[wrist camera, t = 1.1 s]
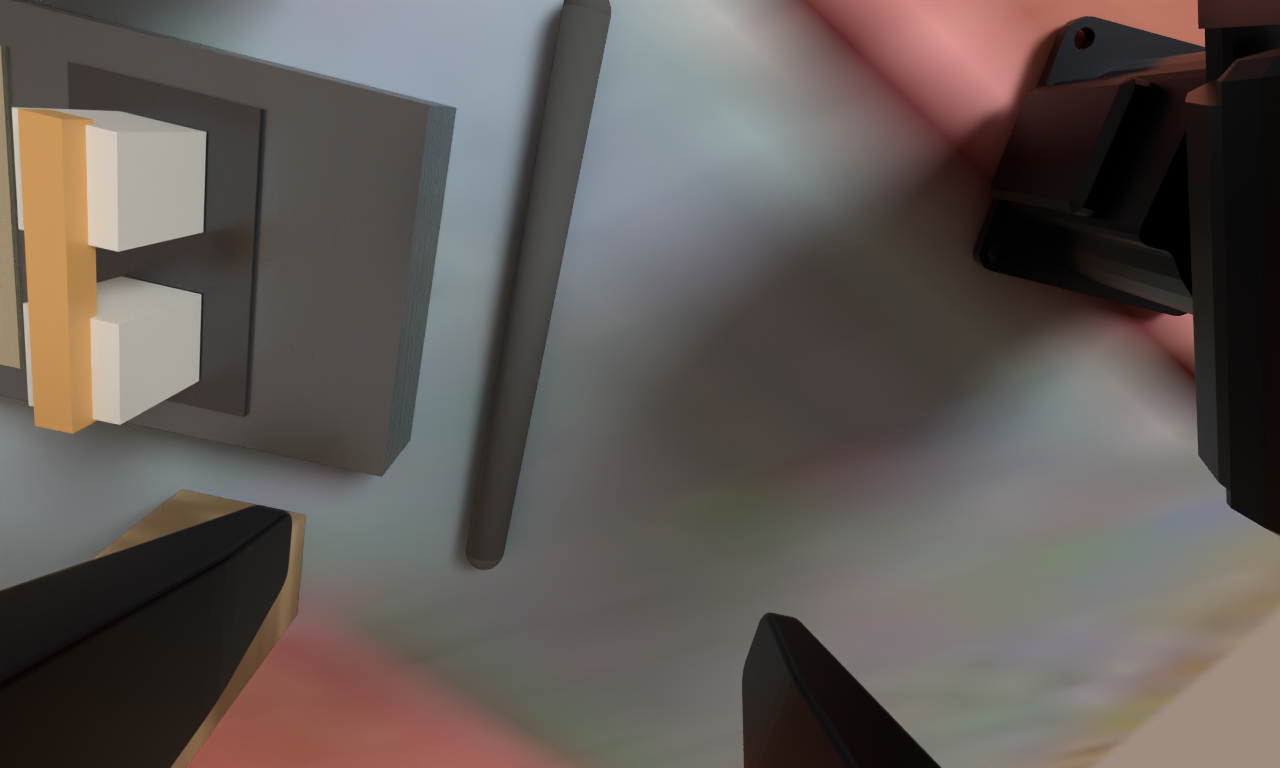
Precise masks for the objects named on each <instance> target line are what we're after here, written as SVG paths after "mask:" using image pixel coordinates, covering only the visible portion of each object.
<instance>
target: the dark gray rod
mask: <svg viewBox="0 0 1280 768" xmlns="http://www.w3.org/2000/svg"><path fill="white" fill-rule="evenodd" d="M610 18H611V6H610V2H609V0H564V4H563V9H562V14H561V20H560V26H559V31H558V37H557V42H556V48H555V54H554V59H553V65H552V70H551V76H550V82H549V87H548V93H547V98H546V104H545V110H544V115H543V121H542V126H541V132H540V138H539V143H538V149H537V154H536V160H535V166H534V171H533V177H532V182H531V188H530V194H529V199H528V205H527V210H526V216H525V222H524V227H523V233H522V238H521V244H520V250H519V255H518V261H517V267H516V272H515V278H514V283H513V289H512V295H511V300H510V306H509V311H508V317H507V323H506V328H505V334H504V339H503V345H502V351H501V356H500V362H499V367H498V373H497V379H496V384H495V390H494V395H493V401H492V407H491V412H490V418H489V423H488V429H487V435H486V440H485V446H484V451H483V457H482V463H481V468H480V474H479V479H478V485H477V491H476V496H475V502H474V508H473V513H472V519H471V524H470V530H469V536H468V541H467V547H466V556H467V559H468V561H469V562H470V564H471V565H472V566H474V567H475V568H477V569H481V570H487V569H491V568H493V567H495V566H496V565H497V564H498V563H499V562H500V561H501V559H502V557H503V554H504V549H505V544H506V539H507V534H508V529H509V524H510V519H511V514H512V509H513V504H514V499H515V494H516V489H517V484H518V479H519V474H520V469H521V464H522V459H523V454H524V449H525V444H526V439H527V434H528V429H529V424H530V419H531V414H532V409H533V404H534V399H535V394H536V389H537V384H538V379H539V374H540V369H541V364H542V359H543V354H544V349H545V344H546V339H547V333H548V328H549V323H550V318H551V313H552V308H553V303H554V298H555V293H556V288H557V283H558V278H559V273H560V268H561V263H562V258H563V253H564V248H565V243H566V238H567V233H568V228H569V223H570V218H571V213H572V208H573V203H574V198H575V193H576V188H577V183H578V178H579V173H580V168H581V163H582V158H583V153H584V148H585V143H586V138H587V133H588V128H589V123H590V118H591V113H592V108H593V103H594V98H595V93H596V88H597V83H598V78H599V73H600V68H601V63H602V58H603V53H604V48H605V43H606V38H607V33H608V28H609V23H610Z"/></svg>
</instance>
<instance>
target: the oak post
mask: <svg viewBox="0 0 1280 768" xmlns="http://www.w3.org/2000/svg"><path fill="white" fill-rule="evenodd" d="M250 506H254V504H249V503H244V502H239V501H235V500H230V499H225V498H220V497H215V496H210V495H206V494H201V493H196V492H191V491H186V490H181V491H179V492H178V493H177V494H176V495H174V496H173V497H172V498H170V499H169V500H168V501H166V502H165V503H164V504H163V505H161V506H160V507H159V508H157V509H156V510H155V511H153V512H152V513H151V514H150V515H148V516H147V517H146V518H144V519H143V520H142V521H140V522H139V523H138V524H137V525H135V526H134V527H133V528H131V529H130V530H129V531H127V532H126V533H125V534H124V535H122V536H121V537H120V538H118V539H117V540H116V541H114V542H113V543H112V544H111V545H109V546H108V547H107V548H105V549H104V550H103V551H102V552H100V553H99V554H98V555H96V556H95V557H94V558H92V559H91V560H93V559H96V558H99V557H102V556H105V555H108V554H111V553H114V552H117V551H120V550H123V549H126V548H128V547H131V546H134V545H137V544H140V543H143V542H146V541H149V540H152V539H155V538H158V537H161V536H164V535H167V534H170V533H173V532H176V531H179V530H182V529H185V528H188V527H191V526H194V525H197V524H200V523H203V522H206V521H209V520H212V519H215V518H218V517H220V516H223V515H226V514H229V513H232V512H235V511H238V510H241V509H244V508H247V507H250ZM289 514H290V515H291V517H292V535H291V547H290V558H289V569H288V574H287V578H286V581H285V583H284V586H283V588H282V590H281V592H280V594H279V595H278V597H277V599H276V601H275V602H274V604H273V606H272V608H271V609H270V611H269V613H268V615H267V617H266V618H265V620H264V622H263V624H262V625H261V627H260V629H259V631H258V632H257V634H256V636H255V638H254V640H253V641H252V643H251V645H250V647H249V648H248V650H247V652H246V654H245V655H244V657H243V659H242V661H241V663H240V664H239V666H238V668H237V670H236V671H235V673H234V675H233V677H232V678H231V680H230V682H229V684H228V685H227V687H226V689H225V690H224V692H223V694H222V695H221V697H220V699H219V700H218V702H217V703H216V705H215V706H214V708H213V709H212V711H211V712H210V714H209V715H208V717H207V718H206V719H205V721H204V722H203V724H202V725H201V726H200V728H199V729H198V731H197V732H196V733H195V735H194V736H193V738H192V739H191V740H190V742H189V743H188V745H187V746H186V747H185V749H184V750H183V752H182V753H181V754H180V756H179V757H178V759H177V760H176V761H175V763H174V764H173V766H172V767H171V768H186V767H187V765H188V764H189V762H190V761H191V760H192V758H193V757H194V756H195V754H196V753H197V751H198V750H199V749H200V747H201V746H202V745H203V743H204V742H205V740H206V739H207V738H208V736H209V735H210V734H211V732H212V731H213V729H214V728H215V727H216V725H217V724H218V723H219V721H220V720H221V718H222V717H223V716H224V714H225V713H226V711H227V710H228V709H229V707H230V706H231V705H232V703H233V702H234V700H235V699H236V698H237V696H238V695H239V694H240V692H241V691H242V689H243V688H244V687H245V685H246V684H247V683H248V681H249V680H250V678H251V677H252V676H253V674H254V673H255V672H256V670H257V669H258V667H259V666H260V665H261V663H262V662H263V661H264V659H265V658H266V656H267V655H268V654H269V652H270V651H271V649H272V648H273V647H274V645H275V644H276V643H277V641H278V640H279V638H280V637H281V636H282V634H283V633H284V632H285V630H286V629H287V627H288V626H289V625H290V623H291V622H292V621H293V619H294V618H295V616H296V615H297V610H298V599H299V588H300V576H301V565H302V554H303V543H304V531H305V520H306V515H302V514H297V513H293V512H289Z"/></svg>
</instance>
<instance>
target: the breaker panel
mask: <svg viewBox="0 0 1280 768" xmlns="http://www.w3.org/2000/svg"><path fill="white" fill-rule="evenodd" d="M12 107H20V108H47V109H75V110H102V111H121V112H125V113H129V114H134V115H138V116H142V117H146V118H150V119H154V120H158V121H163V122H167V123H171V124H175V125H179V126H183V127H188V128H192V129H196V130H200V131H204V132H206V156H205V190H204V224H203V232H202V233H198V234H194V235H189V236H185V237H181V238H176V239H172V240H167V241H163V242H159V243H154V244H150V245H146V246H141V247H137V248H133V249H128V250H124V251H119V252H117V251H113V250H108V249H104V248H99V247H96V283H98V282H102V281H106V280H109V279H113V278H116V277H120V276H122V277H127V278H131V279H136V280H140V281H144V282H149V283H153V284H158V285H162V286H167V287H171V288H175V289H180V290H184V291H189V292H193V293H198V294H201V327H200V361H199V381H198V382H196V383H194V384H193V385H191V386H189V387H187V388H185V389H184V390H182V391H180V392H178V393H176V394H175V395H173V396H171V397H169V398H167V399H166V400H164V401H162V402H160V403H158V404H157V405H155V406H153V407H151V408H149V409H148V410H146V411H144V412H142V413H141V414H139V415H137V416H135V417H133V418H132V419H130V420H128V421H126V422H127V423H131V424H136V425H141V426H146V427H150V428H155V429H160V430H164V431H169V432H174V433H179V434H183V435H188V436H193V437H197V438H202V439H207V440H212V441H216V442H221V443H226V444H230V445H235V446H240V447H245V448H249V449H254V450H259V451H263V452H268V453H273V454H278V455H282V456H287V457H292V458H296V459H301V460H306V461H311V462H315V463H320V464H325V465H329V466H334V467H339V468H344V469H348V470H353V471H358V472H362V473H367V474H372V475H377V476H381V477H382V476H383V475H384V473H385V472H386V471H387V469H388V468H389V467H390V466H391V464H392V463H393V462H394V460H395V459H396V458H397V456H398V455H399V454H400V453H401V451H402V450H403V449H404V447H405V446H406V445H407V443H408V442H409V441H410V437H411V429H412V422H413V415H414V408H415V401H416V393H417V386H418V379H419V372H420V365H421V358H422V350H423V343H424V336H425V329H426V322H427V315H428V307H429V300H430V293H431V286H432V279H433V271H434V264H435V257H436V250H437V243H438V236H439V228H440V221H441V214H442V207H443V200H444V193H445V185H446V178H447V171H448V164H449V157H450V149H451V142H452V135H453V128H454V121H455V114H456V108H454V107H450V106H446V105H442V104H438V103H434V102H430V101H426V100H422V99H418V98H414V97H410V96H406V95H402V94H398V93H394V92H390V91H386V90H382V89H378V88H374V87H370V86H366V85H362V84H358V83H354V82H350V81H346V80H342V79H338V78H334V77H330V76H326V75H322V74H318V73H314V72H310V71H306V70H302V69H298V68H293V67H289V66H285V65H281V64H277V63H273V62H269V61H265V60H261V59H257V58H253V57H249V56H245V55H241V54H237V53H233V52H229V51H225V50H221V49H217V48H213V47H209V46H205V45H201V44H197V43H193V42H189V41H185V40H181V39H177V38H173V37H169V36H165V35H161V34H157V33H153V32H149V31H145V30H141V29H137V28H133V27H129V26H125V25H121V24H116V23H112V22H108V21H104V20H100V19H96V18H92V17H88V16H84V15H80V14H76V13H72V12H68V11H64V10H60V9H56V8H52V7H48V6H44V5H40V4H36V3H32V2H28V1H24V0H0V396H4V397H9V398H14V399H18V400H23V401H28V385H27V367H26V350H25V332H24V315H23V303H26V302H28V292H27V273H26V255H25V237H24V230H20V229H19V227H18V209H17V191H16V174H15V156H14V139H13V121H12Z"/></svg>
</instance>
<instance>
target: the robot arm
mask: <svg viewBox="0 0 1280 768" xmlns="http://www.w3.org/2000/svg"><path fill="white" fill-rule="evenodd" d="M1198 27H1199V29H1204V28H1205V47H1202V46H1198V45H1195V44H1191V43H1187V42H1184V41H1180V40H1176V39H1173V38H1169V37H1165V36H1162V35H1158V34H1155V33H1151V32H1147V31H1144V30H1140V29H1136V28H1133V27H1129V26H1125V25H1122V24H1118V23H1114V22H1111V21H1107V20H1103V19H1100V18H1096V17H1088V16H1085V17H1081V18H1077V19H1074V20H1072V21H1069V22H1068V23H1066V24H1065V25H1064V26H1063V27H1062V28H1061V30H1060V31H1059V33H1058V35H1057V37H1056V40H1055V42H1054V45H1053V47H1052V50H1051V52H1050V55H1049V57H1048V60H1047V63H1046V65H1045V68H1044V70H1043V73H1042V75H1041V78H1040V80H1039V83H1038V85H1037V88H1036V89H1035V90H1033V91H1031V92H1030V93H1028V94H1027V95H1026V97H1025V99H1024V102H1023V104H1022V107H1021V110H1020V112H1019V115H1018V117H1017V120H1016V122H1015V125H1014V128H1013V130H1012V133H1011V135H1010V138H1009V140H1008V143H1007V146H1006V148H1005V151H1004V153H1003V156H1002V158H1001V161H1000V164H999V166H998V169H997V171H996V174H995V176H994V179H993V182H992V184H991V190H992V193H993V196H994V198H993V200H992V203H991V205H990V208H989V210H988V213H987V216H986V218H985V221H984V223H983V226H982V228H981V231H980V233H979V236H978V239H977V241H976V244H975V246H974V251H973V256H974V260H975V261H976V263H977V264H978V265H979V266H981V267H983V268H985V269H988V270H990V271H994V272H998V273H1002V274H1006V275H1010V276H1014V277H1018V278H1023V279H1027V280H1031V281H1035V282H1039V283H1043V284H1047V285H1051V286H1055V287H1059V288H1063V289H1067V290H1071V291H1075V292H1080V293H1084V294H1088V295H1092V296H1096V297H1100V298H1104V299H1108V300H1112V301H1116V302H1120V303H1124V304H1128V305H1132V306H1137V307H1141V308H1145V309H1149V310H1153V311H1157V312H1161V313H1165V314H1169V315H1173V316H1181V315H1184V314H1187V313H1189V314H1192V315H1193V325H1194V351H1195V377H1196V403H1197V429H1198V455H1199V457H1200V458H1201V459H1202V461H1203V462H1204V463H1205V465H1206V466H1207V467H1208V469H1209V470H1210V471H1211V473H1212V474H1213V475H1214V477H1215V478H1216V479H1217V481H1218V482H1219V483H1220V484H1221V485H1223V486H1224V487H1225V488H1226V493H1227V504H1228V505H1229V506H1230V507H1231V508H1232V509H1234V510H1235V511H1237V512H1239V513H1240V514H1242V515H1244V516H1245V517H1247V518H1249V519H1250V520H1252V521H1254V522H1256V523H1257V524H1259V525H1261V526H1262V527H1264V528H1266V529H1268V530H1269V531H1271V532H1273V533H1275V534H1277V535H1278V536H1280V0H1198ZM1078 30H1082V31H1083V32H1084V33H1085V36H1086V39H1085V43H1084V45H1083V46H1082V48H1081V49H1078V48H1077V47H1076V46H1075V44H1074V37H1075V35H1076V33H1077V32H1078ZM995 244H999V246H1000V253H999V255H998V256H997V257H996V258H994V259H993V260H990V259H989V257H988V253H989V250H990V248H991V247H992V246H994V245H995ZM291 535H292V517H291V515H290V514H289V512H288V511H285V510H280V509H275V508H271V507H266V506H261V505H254V506H250V507H247V508H244V509H241V510H238V511H235V512H232V513H229V514H226V515H223V516H220V517H218V518H215V519H212V520H209V521H206V522H203V523H200V524H197V525H194V526H191V527H188V528H185V529H182V530H179V531H176V532H173V533H170V534H167V535H164V536H161V537H158V538H155V539H152V540H149V541H146V542H143V543H140V544H137V545H134V546H131V547H128V548H126V549H123V550H120V551H117V552H114V553H111V554H108V555H105V556H102V557H99V558H96V559H93V560H90V561H87V562H84V563H81V564H78V565H75V566H72V567H69V568H66V569H63V570H60V571H57V572H54V573H51V574H48V575H45V576H42V577H39V578H36V579H33V580H30V581H27V582H24V583H22V584H19V585H16V586H13V587H10V588H7V589H4V590H1V591H0V768H171V767H172V766H173V764H174V763H175V761H176V760H177V759H178V757H179V756H180V754H181V753H182V752H183V750H184V749H185V747H186V746H187V745H188V743H189V742H190V740H191V739H192V738H193V736H194V735H195V733H196V732H197V731H198V729H199V728H200V726H201V725H202V724H203V722H204V721H205V719H206V718H207V717H208V715H209V714H210V712H211V711H212V709H213V708H214V706H215V705H216V703H217V702H218V700H219V699H220V697H221V695H222V694H223V692H224V690H225V689H226V687H227V685H228V684H229V682H230V680H231V678H232V677H233V675H234V673H235V671H236V670H237V668H238V666H239V664H240V663H241V661H242V659H243V657H244V655H245V654H246V652H247V650H248V648H249V647H250V645H251V643H252V641H253V640H254V638H255V636H256V634H257V632H258V631H259V629H260V627H261V625H262V624H263V622H264V620H265V618H266V617H267V615H268V613H269V611H270V609H271V608H272V606H273V604H274V602H275V601H276V599H277V597H278V595H279V594H280V592H281V590H282V588H283V586H284V583H285V581H286V578H287V574H288V569H289V558H290V547H291ZM742 702H743V746H744V768H941V767H940V766H939V765H938V764H937V763H936V762H935V761H934V760H933V758H932V757H931V756H930V755H929V754H928V753H927V752H926V751H925V750H924V749H923V748H922V747H921V746H920V745H919V744H918V743H917V742H916V741H915V740H914V739H913V738H912V737H911V736H910V735H909V734H908V733H907V732H906V731H905V730H904V728H903V727H902V726H901V725H900V724H899V723H898V722H897V721H896V720H895V719H894V718H893V717H892V716H891V715H890V714H889V713H888V712H887V711H886V710H885V709H884V708H883V707H882V706H881V705H880V704H879V703H878V702H877V701H876V699H875V698H874V697H873V696H872V695H871V694H870V693H869V692H868V691H867V690H866V689H865V688H864V687H863V686H862V685H861V684H860V683H859V682H858V681H857V680H856V679H855V678H854V677H853V676H852V675H851V674H850V673H849V672H848V671H847V669H846V668H845V667H844V666H843V665H842V664H841V663H840V662H839V661H838V660H837V659H836V658H835V657H834V656H833V655H832V654H831V653H830V652H829V651H828V650H827V649H826V648H825V647H824V646H823V645H822V644H821V643H820V642H819V640H818V639H817V638H816V637H815V636H814V635H813V634H812V633H811V632H810V631H809V630H808V629H807V628H806V627H805V626H804V625H803V624H802V623H801V622H800V621H799V620H798V619H796V618H794V617H790V616H785V615H780V614H775V613H766V614H765V615H763V617H762V618H761V620H760V622H759V625H758V628H757V630H756V633H755V636H754V639H753V642H752V644H751V647H750V650H749V653H748V656H747V658H746V661H745V665H744V669H743V676H742Z"/></svg>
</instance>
